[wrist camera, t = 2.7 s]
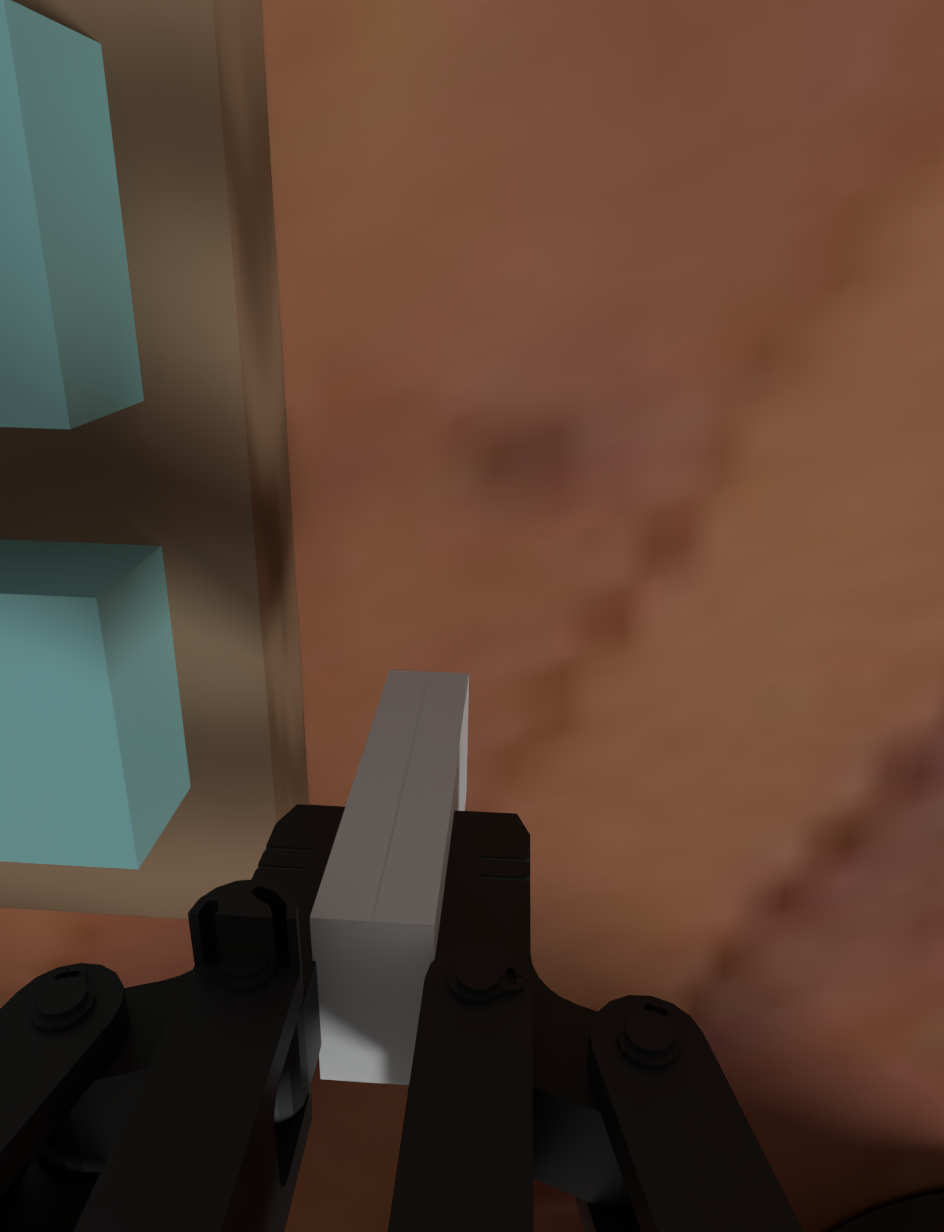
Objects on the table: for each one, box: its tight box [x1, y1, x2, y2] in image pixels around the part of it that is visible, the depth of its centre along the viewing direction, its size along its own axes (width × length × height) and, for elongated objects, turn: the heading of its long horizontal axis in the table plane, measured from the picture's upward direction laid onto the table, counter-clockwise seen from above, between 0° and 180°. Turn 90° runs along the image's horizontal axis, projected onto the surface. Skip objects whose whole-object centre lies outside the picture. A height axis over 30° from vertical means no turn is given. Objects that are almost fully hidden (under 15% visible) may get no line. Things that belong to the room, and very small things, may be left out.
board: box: [0, 0, 309, 919], centre depth 20 cm, size 22×12×3 cm, turn 179°
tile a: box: [0, 539, 191, 870], centre depth 18 cm, size 6×6×3 cm
